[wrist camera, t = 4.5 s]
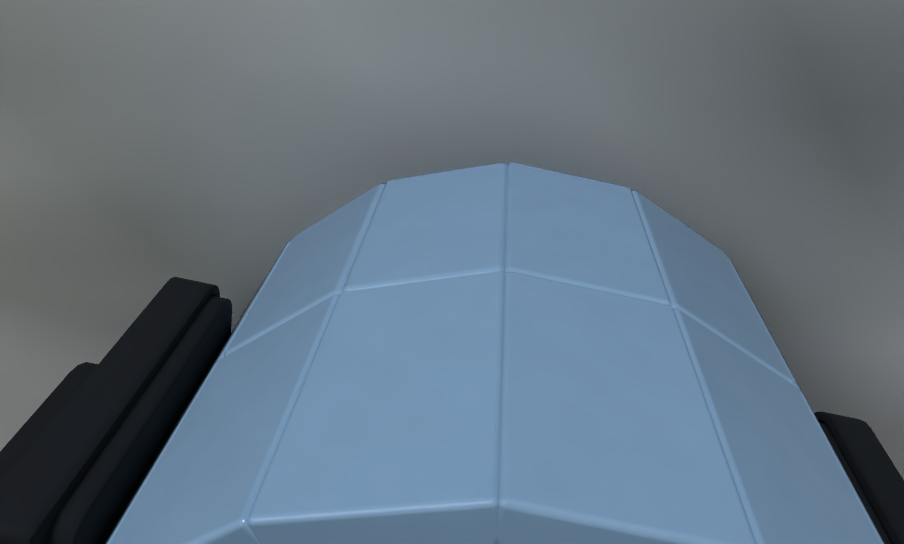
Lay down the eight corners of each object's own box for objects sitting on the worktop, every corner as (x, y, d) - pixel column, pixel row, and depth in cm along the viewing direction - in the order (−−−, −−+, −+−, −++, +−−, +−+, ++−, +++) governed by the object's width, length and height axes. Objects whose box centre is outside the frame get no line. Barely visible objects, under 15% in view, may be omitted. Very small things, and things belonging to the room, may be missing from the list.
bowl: (266, 91, 8) (-57, 389, 4) (860, 220, 9) (1283, 661, 4) (240, 506, 12) (64, 919, 7) (655, 588, 12) (741, 1039, 8)
